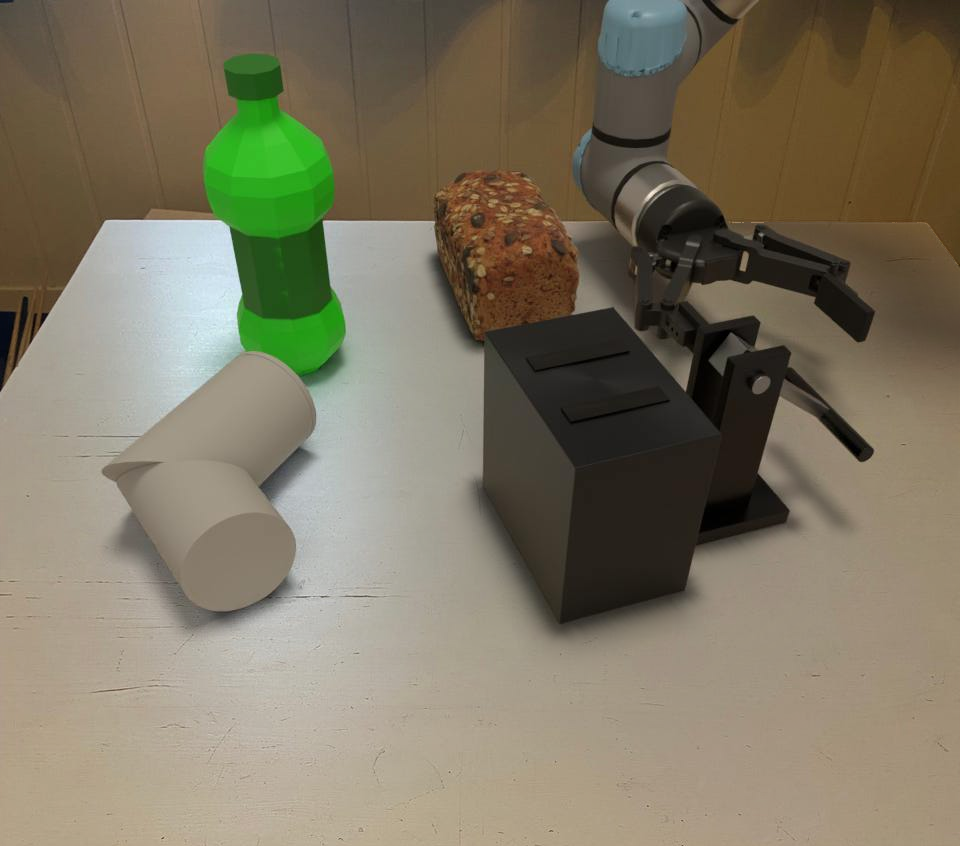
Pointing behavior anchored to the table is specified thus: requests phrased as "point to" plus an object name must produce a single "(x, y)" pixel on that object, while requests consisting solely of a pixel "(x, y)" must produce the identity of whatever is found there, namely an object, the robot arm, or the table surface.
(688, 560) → the toaster
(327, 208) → the plastic bottle
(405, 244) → the table surface
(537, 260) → the bread
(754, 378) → the lever bracket
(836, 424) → the lever
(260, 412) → the elbow connector
